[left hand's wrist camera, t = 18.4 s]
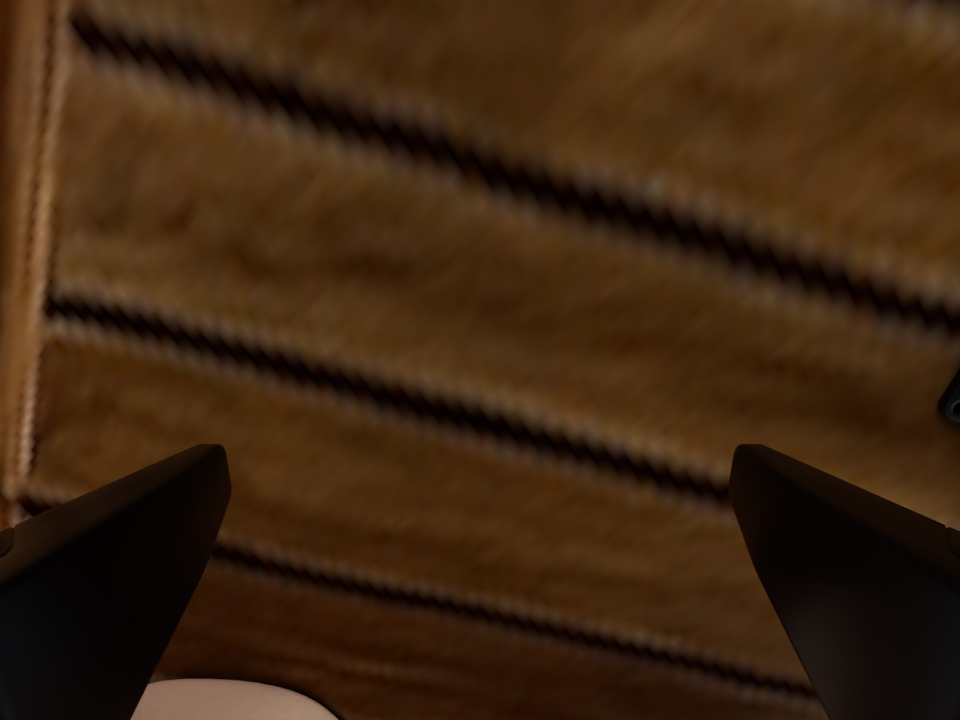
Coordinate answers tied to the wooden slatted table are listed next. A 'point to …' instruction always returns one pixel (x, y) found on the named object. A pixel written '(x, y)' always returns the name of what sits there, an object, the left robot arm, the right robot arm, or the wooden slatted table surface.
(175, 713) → the anatomical model
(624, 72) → the wooden slatted table surface
